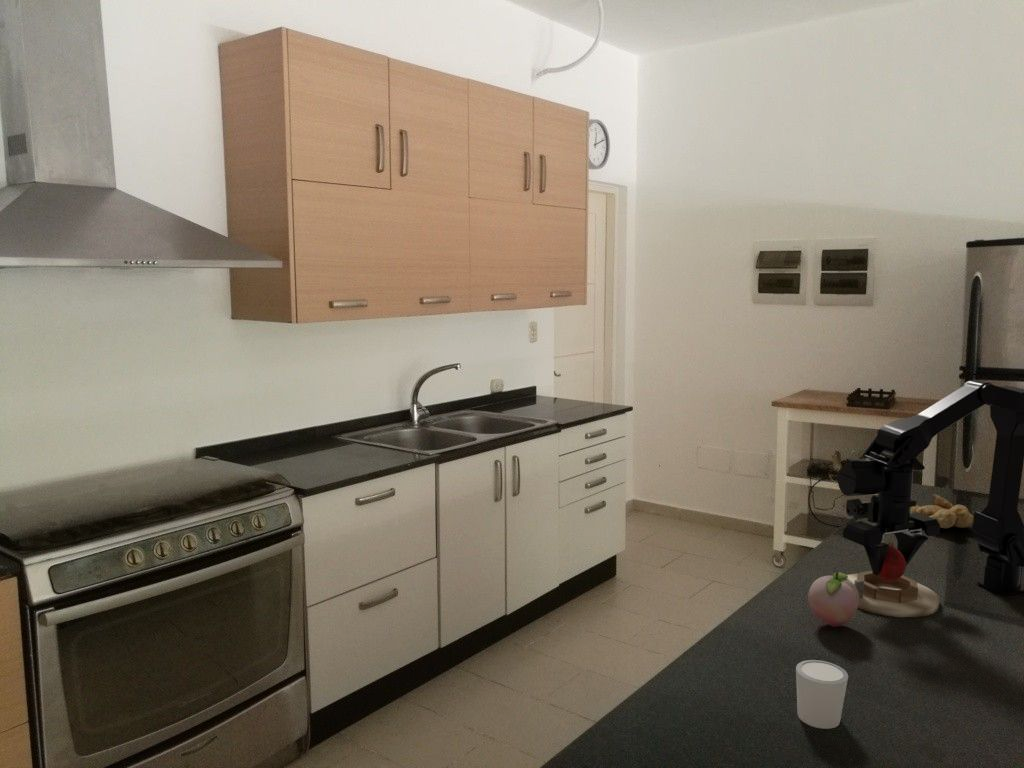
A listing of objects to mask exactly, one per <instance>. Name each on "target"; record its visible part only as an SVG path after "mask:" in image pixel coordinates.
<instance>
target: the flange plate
mask: <svg viewBox="0 0 1024 768" xmlns="http://www.w3.org/2000/svg"><path fill="white" fill-rule="evenodd" d="M846 575H847V576H848V578H847V579H848V580H850V581H851V582H852V583H853V584H854V585H855V586H856V588H857V590H858V592H859V603H858V609H859V610H862V611H865V612H868V613H872V614H877V615H880V614H881V616H887V617H892V616H893V618H905V617H914V618H922V617H928V616H931V615H933V614H935V613H936V612H937V611H938V610H939V607H940V597H939V596H938V594H937V593H935V591H934V590H932V589H931V588H928V587H927V586H925V585H923V584H921V583H919V582H918V581H916V580H915V579H912V578H910V577H907V576H905V575H904V574H903V575H902V576H901V577H900V578H898V579H897V580H895V581H892V582H890V583H886V582H884V581H883V580H882V579H881V578H880V577H878V576H876V575H874V574H873V572H872V570H867V571H861V572H858V573H851V574H846ZM934 612H935V613H934ZM930 614H931V615H930ZM927 615H928V616H927ZM921 616H922V617H921Z"/></svg>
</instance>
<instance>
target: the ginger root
mask: <svg viewBox="0 0 1024 768" xmlns="http://www.w3.org/2000/svg"><path fill="white" fill-rule="evenodd" d="M933 497H934V498H935V499H934V500H935V502H934V504H935V505H934V504H933V505H932V504H928V505H923V506H922V505H921V506H920V505H918V504H916V506H912V507H910V514H912V513H920V514H923V515H926V516H929V517H931V518H934V519H937V521H938V523H939V524H940V529H941V528H942V529H950V528H952V527H956V528H961V529H963V528H964V529H965V528H968V527H969V526H971V525H973V523H974V517H973V515H974V514H971V513H970V510H969V509H968V508H967V506H965V505H962V504H955V505H953V504H952V503H951V502H950V501H949V500H947V499H945V498H944V497H941V495H938V494H937V493H935V494H933Z"/></svg>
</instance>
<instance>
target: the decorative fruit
mask: <svg viewBox="0 0 1024 768" xmlns="http://www.w3.org/2000/svg"><path fill="white" fill-rule="evenodd" d="M847 575H848V574H846V573H843V572H839V571H837V572H834V573H833V574H832V575H824V576H821V577H819V578H817V579H815V581H813V583H811V585H810V588H809V590H808V594H807V595H808V596H807V601H808V605H809V607H810V609H811V611H812V612H813V613H814V614H815V616H816V617H817V618H818V619H819V620H821V621H822V622H823V623H825V624H827V625H829V626H831V627H833V628H835V627H836V628H837V627H841V626H844V625H847V624H848V623H849V622H851V621H852V620H853V619H854V618H855V616H856V615H857V611H858V609H859V608H858V603H859V592H858V590H857V588H856V586H855V585H854V584H853V583H852V582H851V581H850V580H848V579H847V578H848V576H847Z"/></svg>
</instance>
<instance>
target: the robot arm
mask: <svg viewBox="0 0 1024 768" xmlns="http://www.w3.org/2000/svg"><path fill="white" fill-rule="evenodd" d="M984 405H987V406H989V409H990V410H989V412H990V413H989V414H990V415H989V417H990V419H991V421H992V424H993V426H994V428H995V431H996V437H995V445H994V446H995V447H994V451H993V452H994V454H993V462H992V469H991V477H990V484H989V485H990V486H989V492H988V501H987V504H986V506H985V507H984V508H982V510H981V512H980V511H974V513H973V514H972V515H973V517H974V523H972V526H971V529H970V531H971V532H973V539H974V540H975V541H976V543H977V546H978V547H977V548H978V550H979V552H983V553H984V554H986V555H987V556H986V560H985V561H986V562H985V565H984V571H983V572H984V573H983V574H984V575H983V579H981V580H977V581H976V584H977V585H979V586H981V587H983V588H986V589H989V590H991V591H993V592H995V591H996V593H998V592H999V593H998V594H1000V593H1001V594H1000V595H1003V596H1011V594H1012V595H1015V593H1017V594H1020V592H1021V593H1024V586H1023V585H1022V579H1023V569H1024V522H1023V520H1022V517H1021V515H1020V512H1019V509H1018V508H1019V499H1020V492H1021V486H1022V485H1021V484H1022V478H1023V477H1022V476H1023V470H1024V388H1021V387H1015V386H1011V385H1006V384H1005V385H1001V386H999V385H995V384H993V383H992V382H988V381H984V380H983V381H982V380H978V379H971V380H968V381H966V382H965V383H964V384H963V385H962V386H961V387H959V388H957V389H956V390H954V391H953V392H951V393H950V394H948V395H946V396H945V397H944V398H941V399H940V400H938V401H937V402H935V403H934V404H932V405H931V406H929V407H927V408H926V409H924V410H923V411H921V412H920V413H918V414H916V415H913V416H909V417H904V418H900V419H896V420H893V421H891V422H889V423H887V424H885V425H882V426H881V427H880V428H878V431H877V433H876V434H877V435H876V437H875V438H874V439H873V441H871V443H870V445H869V446H868V447H867V449H866V450H865V451H864V453H863V454H862V456H861V457H862V458H854V457H848V458H845V464H844V465H842V466H841V467H840V469H839V472H838V473H837V477H836V478H837V484H838V485H837V486H838V488H839V490H840V491H841V494H843V495H844V496H845V497H853V496H871V497H870V501H863V502H862V501H861V499H860V498H851V499H846V504H845V511H846V515H847V516H848V517H853V520H854V522H848V523H846V524H845V525H844V526H843V530H842V538H844V539H847V540H848V541H850V542H854V543H855V544H858V545H860V546H862V547H863V548H864V549H865V554H866V556H867V558H868V561H869V564H870V568H871V571H872V572H873V574H874V575H876V576H878V575H879V574H880V571H881V569H882V566H883V563H884V560H885V556H886V553H887V550H888V547H889V545H888V543H886V542H884V537H885V536H888V535H894V537H895V538H896V540H897V546H896V547H897V548H896V549H898V550H899V551H900V552H901V553H902V555H903V556H904V558H905V561H906V567H907V566H908V564H909V563H910V562H911V561H912V559H913V557H914V556H915V555H916V553H917V552H918V551H919V549H920V548H921V547H922V546H923V544H924V543H925V542H926V541H928V540H929V537H933V536H938V535H940V529H941V528H940V524H939V523H938V521H937V519H934V518H931V517H929V516H926V515H923V514H920V513H912V514H910V507H912V506H916V505H917V500H915V499H912V493H913V483H914V482H913V481H914V480H913V478H914V471H922V470H925V469H926V468H925V467H926V466H925V465H923V463H921V462H920V461H919V460H918V456H920V455H921V454H922V453H923V452H924V451H926V449H928V448H929V447H930V444H931V442H932V439H933V438H934V437H936V435H938V434H939V433H941V432H943V431H945V430H946V429H948V428H949V427H951V426H952V425H954V424H956V423H958V422H959V421H960V420H963V419H964V418H965V417H967V416H969V415H970V414H971V413H973V412H974V411H976V410H978V409H980V408H981V407H983V406H984ZM882 453H883V454H882ZM884 454H886V455H884ZM859 519H860V520H861V521H858V520H859ZM862 519H867V521H866V522H864V521H862ZM867 522H869V523H871V524H869V523H867ZM872 523H874V524H875V525H872ZM923 530H924V531H923ZM923 532H924V534H925V535H926V536H925V535H923Z"/></svg>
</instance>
